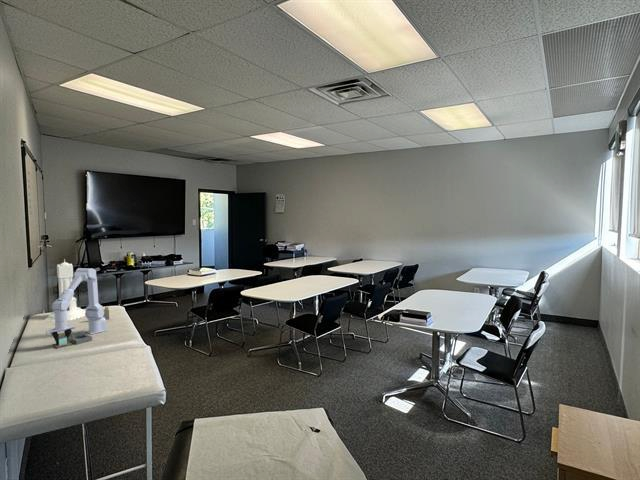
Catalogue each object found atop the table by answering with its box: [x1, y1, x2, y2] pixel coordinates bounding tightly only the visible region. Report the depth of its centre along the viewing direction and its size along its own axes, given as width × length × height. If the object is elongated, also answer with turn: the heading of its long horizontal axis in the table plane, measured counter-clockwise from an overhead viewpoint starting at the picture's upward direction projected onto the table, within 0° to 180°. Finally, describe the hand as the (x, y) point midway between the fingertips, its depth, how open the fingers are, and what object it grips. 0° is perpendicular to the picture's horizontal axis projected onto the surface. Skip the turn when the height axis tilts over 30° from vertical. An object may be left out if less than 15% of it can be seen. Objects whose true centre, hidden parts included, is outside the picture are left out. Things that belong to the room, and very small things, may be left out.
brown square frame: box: [52, 341, 73, 350], centre depth 213 cm, size 7×7×1 cm
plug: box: [58, 334, 67, 346], centre depth 213 cm, size 4×4×6 cm
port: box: [68, 330, 93, 345], centre depth 222 cm, size 8×13×4 cm, turn 53°
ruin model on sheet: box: [103, 306, 110, 321], centre depth 264 cm, size 11×3×10 cm, turn 125°
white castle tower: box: [44, 258, 86, 323], centre depth 273 cm, size 28×28×45 cm
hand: (62, 343), depth 213 cm, fingers closed on plug, 4 cm apart
